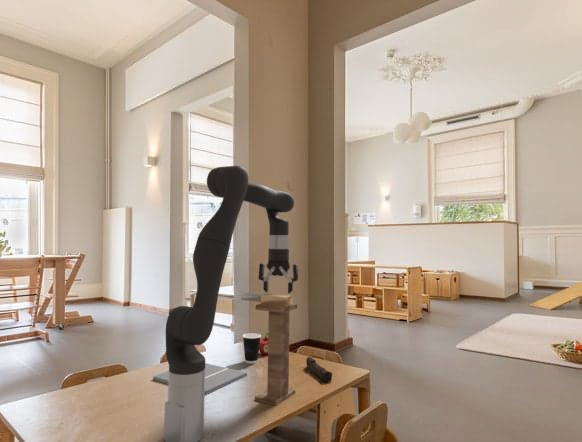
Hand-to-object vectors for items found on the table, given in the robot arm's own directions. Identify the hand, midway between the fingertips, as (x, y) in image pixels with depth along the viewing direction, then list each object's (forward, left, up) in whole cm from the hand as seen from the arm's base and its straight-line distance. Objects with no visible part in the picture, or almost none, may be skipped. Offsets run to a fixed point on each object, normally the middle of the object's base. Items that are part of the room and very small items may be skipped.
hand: (278, 292), depth 143 cm
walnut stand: (-10, -6, -32) cm, 34 cm away
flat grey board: (-10, +27, -32) cm, 43 cm away
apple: (+29, +25, -33) cm, 50 cm away
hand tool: (+17, -7, -33) cm, 38 cm away
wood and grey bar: (-10, -2, -2) cm, 10 cm away
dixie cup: (+16, +23, -33) cm, 43 cm away
